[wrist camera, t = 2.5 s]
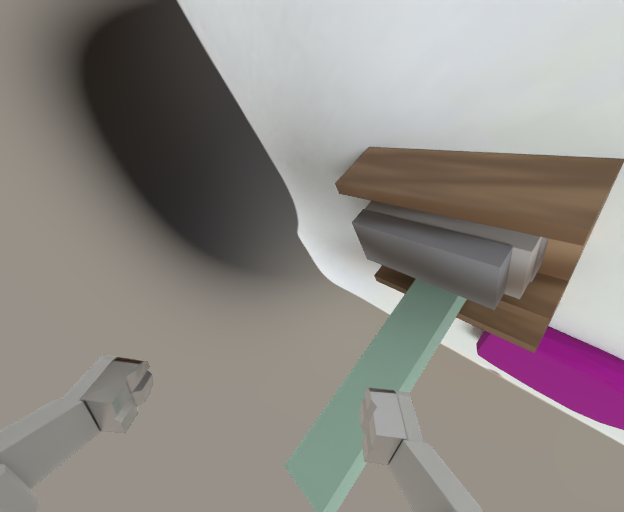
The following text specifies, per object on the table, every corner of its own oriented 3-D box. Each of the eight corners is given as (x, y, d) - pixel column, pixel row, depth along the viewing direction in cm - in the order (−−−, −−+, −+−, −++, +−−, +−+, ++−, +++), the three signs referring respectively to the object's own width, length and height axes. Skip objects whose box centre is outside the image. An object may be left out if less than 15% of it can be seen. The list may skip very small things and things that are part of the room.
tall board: (434, 253, 24) (284, 465, 18) (476, 266, 21) (319, 516, 16) (436, 269, 25) (300, 468, 20) (476, 283, 23) (334, 515, 17)
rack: (369, 147, 21) (334, 183, 20) (624, 159, 12) (590, 229, 11) (399, 252, 30) (377, 282, 29) (557, 307, 21) (534, 354, 20)
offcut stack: (379, 180, 21) (345, 219, 20) (558, 207, 14) (522, 271, 12) (392, 224, 25) (363, 259, 23) (540, 264, 17) (511, 320, 16)
